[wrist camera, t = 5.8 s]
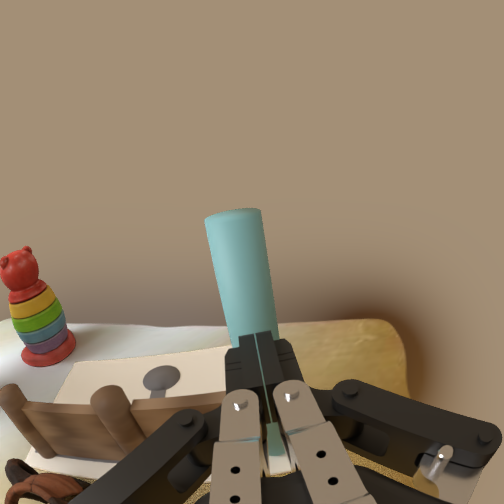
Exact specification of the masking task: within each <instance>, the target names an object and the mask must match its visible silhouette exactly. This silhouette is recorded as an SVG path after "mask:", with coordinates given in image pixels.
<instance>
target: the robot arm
mask: <svg viewBox="0 0 504 504" xmlns="http://www.w3.org/2000/svg"><path fill="white" fill-rule="evenodd" d="M255 335H256V340H257V345H258V351H259V356H260V361H261V366H262V372H263V377H264V382H265V387H266V392H267V397H268V402H269V407H270V412H271V417H272V422H273V423H275V422H278V427H279V432H280V437H281V440H282V443H283V446H284V449H285V452H286V455H287V458H288V461H289V464H290V467H291V471H292V473H291V474H288V475H286V476H283V477H271V476H270V465H269V451H268V439H267V434H268V431H267V426H266V424H270V423H271V421H270V415H269V410H268V405H267V400H266V395H265V389H264V384H263V379H262V374H261V368H260V363H259V358H258V353H257V348H256V342H255V337H254V333H253V334H247V335H242V336H238V339H239V347H236V348H230V349H228V351H227V353H226V354H225V356H224V358H225V385H226V396H225V397H224V399H223V401H222V404H221V405H220V406H219V407H218V408H216V409H214V410H212V411H210V412H207V413H204V414H202V413H201V412H200V411H198V410H195V409H183V410H180V411H178V412H176V413H175V414H173V415H172V416H171V417H170V418H169V419H168V420H167V421H166V422H165V423H163V424H162V425H161V426H160V427H159V428H158V429H157V430H156V431H154V432H153V433H152V434H151V435H150V436H149V437H148V438H147V439H145V440H144V441H143V442H142V443H141V444H140V445H139V446H137V447H136V448H135V449H134V450H133V451H132V452H130V453H129V454H128V455H127V456H126V457H124V458H123V459H122V460H121V461H120V462H118V463H117V464H116V465H115V466H114V467H112V468H111V469H110V470H109V471H108V472H106V473H105V474H104V475H103V476H101V477H100V478H99V479H98V480H96V481H95V482H94V483H93V484H91V485H90V486H89V487H88V488H86V489H85V490H84V491H82V492H81V493H80V494H79V495H77V496H76V497H75V498H73V499H72V500H71V501H70V502H69V503H68V504H183V503H184V502H185V501H186V500H187V499H188V498H189V497H190V496H191V495H192V494H193V493H194V492H195V491H196V490H197V489H198V488H199V487H200V486H201V485H202V484H203V483H204V481H205V480H206V479H207V478H208V477H209V476H210V475H211V486H210V492H209V493H207V494H205V495H204V496H202V497H201V498H200V499H199V500H197V501H196V502H195V503H194V504H468V502H469V499H470V497H471V495H472V493H473V491H474V488H475V486H476V484H477V481H478V479H479V477H480V474H481V472H482V470H483V468H484V467H485V465H486V464H487V463H488V462H489V460H490V459H491V458H492V456H493V455H494V454H495V452H496V451H497V449H498V448H499V446H500V444H501V442H502V434H501V431H500V430H499V428H498V427H497V426H495V425H494V424H492V423H488V422H485V421H481V420H477V419H474V418H470V417H467V416H463V415H460V414H456V413H453V412H449V411H446V410H443V409H440V408H436V407H433V406H430V405H427V404H424V403H421V402H418V401H415V400H412V399H409V398H406V397H403V396H400V395H397V394H395V393H392V392H389V391H386V390H383V389H381V388H378V387H375V386H372V385H370V384H367V383H364V382H362V381H359V380H354V379H349V380H344V381H341V382H339V383H338V384H336V385H335V386H334V388H333V390H318V389H314V388H311V387H310V386H308V385H307V384H306V383H305V382H304V379H303V377H302V374H301V371H300V368H299V365H298V362H297V360H296V357H295V354H294V351H293V348H292V346H291V344H290V343H289V342H288V341H287V340H285V339H279V340H273V336H272V333H271V330H269V331H263V332H258V333H255ZM345 449H348V450H350V451H352V452H354V453H356V454H358V455H360V456H362V457H365V458H367V459H369V460H371V461H374V462H376V463H378V464H381V465H383V466H385V467H388V468H390V469H393V470H395V471H398V472H400V473H403V474H405V475H408V476H410V477H413V484H414V486H415V488H416V489H417V490H416V489H413V488H411V487H409V486H406V485H404V484H402V483H400V482H397V481H395V480H393V479H391V478H388V477H386V476H384V475H382V474H380V473H378V472H376V471H374V470H371V469H369V468H366V467H363V466H358V465H353V463H352V461H351V459H350V458H349V456H348V454H347V452H346V450H345Z"/></svg>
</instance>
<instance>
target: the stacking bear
mask: <svg viewBox="0 0 504 504" xmlns="http://www.w3.org/2000/svg"><path fill="white" fill-rule="evenodd" d="M0 266H1V268H0V275H1V279H2V281H3V282H4V284H5V285H6V286H7V287H8V288H9V289H10V290H11V292H10V294H9V298H8V300H9V307H10V313H11V316H12V322H13V325H14V328H15V330H16V332H17V333H18V335H19V337H20V338H21V340H22V341H23V342H24V344H25V345H26V347H25V348H24V349H23V351H22V353H21V357H22V360H23V361H24V362H25V363H26V364H28V365H31V366H48V365H52V364H55V363H57V362H59V361H61V360H63V359H64V358H66V357H67V356H68V355H69V354H70V353H71V352H72V351H73V349H74V347H75V343H76V342H75V338H74V336H73V334H72V332H71V331H70V330H69V329H67V325H66V320H65V316H64V311H63V309H62V306H61V304H60V302H59V301H58V299H57V298H56V296H55V294H54V292H53V291H52V289H51V288H50V286H49V285H46V283H45V282H44V281H42V280H39V279H38V274H39V270H38V264H37V261H36V259H35V257H34V256H33V255H32V250H31V248H30V247H28V246H24V247H23V249H22V250H17V251H14V252H12V253H10V254H8V255H7V256H4V257H2V258H1V260H0Z"/></svg>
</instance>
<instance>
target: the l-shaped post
mask: <svg viewBox="0 0 504 504" xmlns="http://www.w3.org/2000/svg"><path fill="white" fill-rule="evenodd" d="M204 221H205V226H206V231H207V236H208V241H209V246H210V250H211V255H212V260H213V265H214V269H215V274H216V278H217V283H218V287H219V292H220V297H221V301H222V305H223V310H224V314H225V318H226V323H227V327H228V331H229V335H230V340H231V344H232V348H236V347H239V339H238V336H242V335H247V334H253V333H254V337H255V342H256V348H257V353H258V358H259V363H260V368H261V374H262V379H263V384H264V389H265V395H266V400H267V405H268V410H269V415H270V421H271V423H270V424H266V426H267V431H268V434H267V439H268V451H269V456H279V455H282V454H284V453H286V452H285V449H284V446H283V443H282V440H281V437H280V432H279V427H278V422H275V423H273V422H272V417H271V412H270V407H269V402H268V397H267V392H266V387H265V382H264V377H263V372H262V366H261V361H260V356H259V351H258V345H257V340H256V335H255V333H258V332H263V331H269V330H271V333H272V336H273V340H279V332H278V325H277V318H276V311H275V304H274V297H273V290H272V283H271V277H270V269H269V263H268V256H267V249H266V243H265V237H264V230H263V223H262V217H261V211H260V210H259V209H256V208H243V209H235V210H229V211H225V212H221V213H217V214H214V215H212V216H209V217H208V218H206V219H205V220H204ZM225 396H226V391H220V392H212V393H204V394H196V395H187V396H176V397H165V398H151V399H133V401H132V405H131V408H130V411H131V413H132V414H133V416H134V418H135V419H136V421H137V423H138V424H139V426H140V428H141V429H142V431H143V432H144V434H145V435H146V437H147V438H148V437H149V436H150V435H151V434H152V433H153V432H154V431H156V430H157V429H158V428H159V427H160V426H161V425H162V424H163V423H165V422H166V421H167V420H168V419H169V418H170V417H171V416H172V415H173V414H175V413H176V412H178V411H180V410H183V409H195V410H198V411H200V412H201V413H202V414H204V413H207V412H210V411H212V410H214V409H216V408H218V407H219V406H220V405H221V404H222V401H223V399H224V397H225Z"/></svg>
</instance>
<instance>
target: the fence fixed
mask: <svg viewBox="0 0 504 504" xmlns="http://www.w3.org/2000/svg"><path fill="white" fill-rule="evenodd" d="M0 406H1V407H2V408H3V410H4V411H5V413H6V414H7V415H8V417H9V418H10V419H11V421H12V422H13V423H14V424H15V426H16V427H17V428H18V430H19V431H20V432H21V433H22V434H23V436H24V437H25V438H26V439H27V440H28V442H29V443H30V444H31V445H32V446H33V447H34V449H35V450H36V451H37V452H38V453H39V454H40V455H41V456H42V457H43V458H45V459H51V458H54V457H55V455H57V454H60V455H67V456H74V457H82V458H91V459H102V460H116V461H121V460H122V459H123V458H124V457H126V456H127V455H128V454H129V453H130V452H132V451H133V450H134V449H135V448H136V447H137V446H139V445H140V444H141V443H142V442H143V441H144V440H145V439H147V437H146V435H145V434H144V432H143V431H142V429H141V428H140V426H139V424H138V423H137V421H136V419H135V418H134V416H133V414H132V413H131V411H130V408H131V403H130V402H129V400H128V398H127V396H126V394H125V393H124V391H123V389H122V388H121V387H119V386H117V385H107V386H104V387H101V388H100V389H98V390H97V391H95V392H94V394H93V395H92V396H91V399H90V404H59V403H43V402H31V401H27V399H26V398H25V396H24V395H23V393H22V392H21V390H20V388H19V387H18V385H16V384H9V385H6V386H4V387H3V388H2V389H1V390H0Z"/></svg>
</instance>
